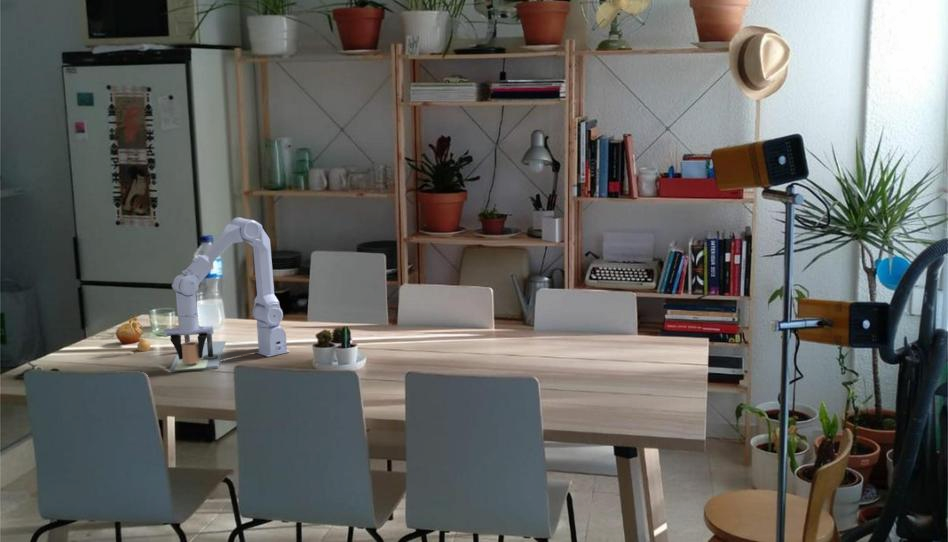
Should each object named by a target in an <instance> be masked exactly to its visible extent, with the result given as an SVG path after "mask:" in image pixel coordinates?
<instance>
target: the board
mask: <svg viewBox="0 0 948 542" xmlns="http://www.w3.org/2000/svg"><path fill="white" fill-rule="evenodd" d="M226 342H227V341H226V340H225V341H224V340H223V341H212V346H213V354H217V355H218V358H216V359H212V360H208V362H207V365H206V368H199V369H184V370H174V369H175V367H176V365H177V363H178V361H182V359H180V360H179V356H178V353H177V354H176V356H175V358H174V360H173V363H172V365H171V366H170V368H169V372H170V373H171V372H173V373H174V372H185V371H202V370H203V371H204V370H215V369H216V370H217V369H219V366H220V364H221V360H222V359H221V357H222V354H223V351H224V349H225V345H226ZM205 355H208V350H207V341H205V344H204V348H203V356H205ZM200 360H205V359H204V358H203V357H202V358H200Z"/></svg>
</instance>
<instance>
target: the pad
mask: <svg viewBox="0 0 948 542" xmlns="http://www.w3.org/2000/svg"><path fill="white" fill-rule="evenodd" d="M207 362H208V359H207V360H200V361H199V362H197V363H192V364H185V363H183V362H182V361H178V363H177V365H176V367H175V369H174V370H184V369H199V368H206V365H207Z"/></svg>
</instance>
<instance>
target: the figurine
mask: <svg viewBox="0 0 948 542" xmlns="http://www.w3.org/2000/svg"><path fill="white" fill-rule="evenodd" d="M128 323H130V328H131V329H132V331H133V334H135V332H136V333H137V334H139V335H138V336H137V337H138V339H139V341H140V342H137V350H138V352H148V351H150V349H151V343H150V342H149V341H147V340H146V339H144V338H142V335H143V334H144V331H143V330H142V329H144V327H143V326H142V324H141V323H139V321H138V316H134V317H132V318H131V317H130V318H129V320H128ZM137 325H138V326H139V327H141V328H140V329H139V327H137ZM132 327H133V328H134V330H133V328H132ZM134 331H135V332H134Z"/></svg>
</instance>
